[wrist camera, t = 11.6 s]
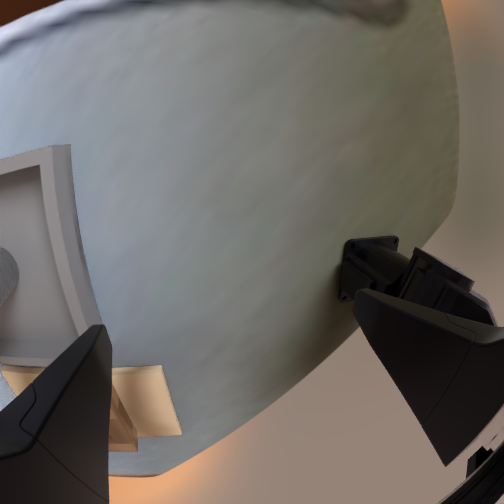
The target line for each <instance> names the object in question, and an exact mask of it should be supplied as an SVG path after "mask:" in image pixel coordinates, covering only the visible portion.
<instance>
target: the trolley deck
mask: <svg viewBox="0 0 504 504" xmlns="http://www.w3.org/2000/svg"><path fill="white" fill-rule="evenodd" d="M45 369H46V368H37V367H20V366H8V365H3V366H2V369H1V372H2V374H3V376H4V377H5V379H6V380H7V382H8V384H9V385H10V387H11V388H12V390H13V391H14V393H15V394H16V395H17V396H18V395H19V394H20V393H21V392H22V391H23V390H24V389H25V388H26V387H27V386H28V385H29V384H30V383H33V380H34V379H35V378H36V377H37V376H38V375H39V374H40V373H41V372H42V371H44V370H45ZM171 435H182V430H181V426H180V423H179V420H178V417H177V414H176V411H175V408H174V405H173V402H172V399H171V396H170V393H169V389H168V386H167V382H166V379H165V375H164V372H163V368H162V365H153V366H139V367H121V368H112V397H111V409H110V424H109V449H108V451H117V452H138V442H137V437H157V436H171Z"/></svg>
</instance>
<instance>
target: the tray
mask: <svg viewBox="0 0 504 504" xmlns="http://www.w3.org/2000/svg"><path fill="white" fill-rule="evenodd" d="M0 247H2V248H4V249H6V250H7V251H8V252H9V253H10V254H11V255H12V256H13V257H14V259H15V261H16V263H17V266H18V269H19V281H18V284H17V286H16V287H15V288H14V289H13V291H12V292H11V293H10V295H9V296H8V297H7V299H6V300H5V301H4V303H3V304H2V305H1V307H0V364H9V365H21V366H39V367H48V366H49V365H50V364H51V363H52V362H53V361H54V360H55V359H56V358H57V357H58V356H59V355H60V354H61V353H62V352H63V351H64V350H66V349H67V348H68V347H69V346H70V345H71V344H72V343H73V342H74V341H75V340H76V339H77V338H78V337H80V336H81V335H82V334H83V333H84V332H85V331H86V330H87V329H88V328H89V327H91V326H92V325H94V324H102V320H101V317H100V314H99V311H98V307H97V304H96V300H95V297H94V293H93V289H92V285H91V281H90V277H89V273H88V269H87V265H86V260H85V255H84V251H83V246H82V240H81V235H80V229H79V223H78V217H77V210H76V203H75V195H74V186H73V176H72V163H71V146H70V144H66V145H54V146H48V147H44V148H40V149H36V150H32V151H28V152H25V153H21V154H17V155H14V156H11V157H7V158H4V159H1V160H0Z"/></svg>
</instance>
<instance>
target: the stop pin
mask: <svg viewBox="0 0 504 504" xmlns="http://www.w3.org/2000/svg"><path fill="white" fill-rule="evenodd" d="M18 281H19V269H18V266H17V263H16V261H15V259H14V257H13V256H12V255H11V254H10V253H9V252H8V251H7V250H6V249H4V248H2V247H0V307H1V305H2V304H3V303H4V301H5V300H6V299H7V297H8V296H9V295H10V293H11V292H12V291H13V289H14V288H15V287H16V286H17V284H18Z"/></svg>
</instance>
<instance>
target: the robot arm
mask: <svg viewBox="0 0 504 504" xmlns="http://www.w3.org/2000/svg"><path fill="white" fill-rule="evenodd" d="M398 242H399V238H398V237H396V236H394V235H393V236H382V237H371V238H360V239H350V240H349V241H348V242H347V244H346V250H345V257H344V263H343V268H342V275H341V281H340V289H339V295H338V299H339V300H340V301H341V302H347V301H352V300H354V305H353V314H354V316H355V318H356V320H357V322H358V323H359V325H360V327H361V329H362V331H363V333H364V335H365V336H366V338H367V340H368V342H369V344H370V346H371V347H372V349H373V350H374V351H375V353H376V355H377V356H378V358H379V359H380V361H381V362H382V364H383V365H384V367H385V369H386V370H387V371H388V373H389V375H390V376H391V378H392V379H393V381H394V382H395V384H396V386H397V387H398V389H399V390H400V392H401V394H402V395H403V397H404V398H405V400H406V401H407V403H408V405H409V406H410V408H411V409H412V411H413V413H414V415H415V416H416V418H417V419H418V421H419V423H420V424H421V425H422V428H423V430H424V431H425V433H426V435H427V437H428V438H429V440H430V442H431V443H432V445H433V447H434V448H435V450H436V452H437V454H438V456H439V457H440V459H441V461H442V463H443V464H444V466H445V467H446V466H448V465H449V464H450V463H451V462H452V461H454V460H455V459H456V458H457V457H458V456H459V455H461V454H462V453H463V452H464V451H465V450H467V449H468V448H469V447H470V446H471V445H472V444H473V443H474V442H475V441H476V440H478V441H479V442H480V443H481V444H482V447H481V448H480V449H479V450H478V451H476V452H475V453H474V454H473V456H471V457H470V458H469V459H468V465H467V474H466V480H465V481H463V482H462V483H461V484H460V485H459V486H458V487H457V488H455V489H454V490H453V491H452V492H451V493H449V494H448V495H447V496H446V497H445V498H443V499H442V500H441V501H439V502H438V503H437V504H504V327H499V326H498V323H497V321H496V319H495V316H494V314H493V312H492V309H491V307H490V305H489V303H488V301H487V299H485V298H484V297H483V296H481V295H480V294H478V293H477V292H475V291H474V290H472V286H473V284H474V282H475V281H474V280H472V279H471V278H469V277H468V276H467V275H465V274H464V273H462V272H461V271H459V270H458V269H456V268H454V267H453V266H451V265H449V264H448V263H446V262H444V261H442V260H441V259H439V258H437V257H435V256H433V255H431V254H429V253H427V252H425V251H423V250H421V249H419V248H417V247H415V249H414V251H413V256H412V258H411V260H410V259H408V258H407V257H405V256H403V255H402V254H400V253H398V252H397V248H398ZM351 244H353V245H352V246H351ZM343 296H344V297H343ZM111 397H112V345H111V341H110V339H109V336H108V333H107V330H106V327H105V325H103V324H94V325H92V326H91V327H89V328H88V329H87V330H86V331H85V332H84V333H83V334H82V335H81V336H80V337H78V338H77V339H76V340H75V341H74V342H73V343H72V344H71V345H70V346H69V347H68V348H67V349H66V350H64V351H63V352H62V353H61V354H60V355H59V356H58V357H57V358H56V359H55V360H54V361H53V362H52V363H51V364H50V365H49V366H48V367H47V368H46V369H45V370H44V371H42V372H41V373H40V374H39V375H38V376H37V377H36V378H35V379H34V380H33V383H30V384H29V385H28V386H27V387H26V388H25V389H24V390H23V391H22V392H21V393H20V394H19V395H18V396H17V397H16V398H15V399H14V400H13V401H12V402H10V403H9V404H8V405H7V406H6V407H5V408H4V409H2V410H1V411H0V504H109V481H108V449H109V424H110V409H111Z"/></svg>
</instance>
